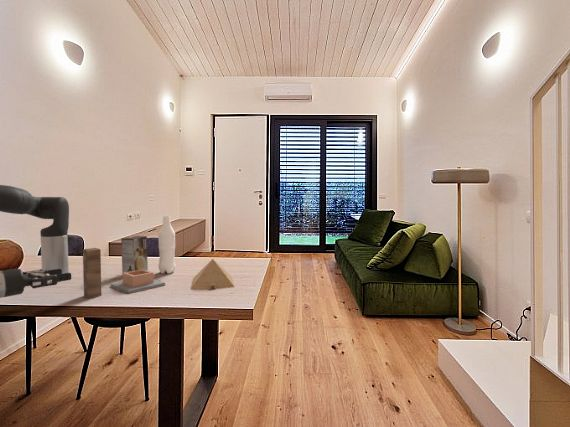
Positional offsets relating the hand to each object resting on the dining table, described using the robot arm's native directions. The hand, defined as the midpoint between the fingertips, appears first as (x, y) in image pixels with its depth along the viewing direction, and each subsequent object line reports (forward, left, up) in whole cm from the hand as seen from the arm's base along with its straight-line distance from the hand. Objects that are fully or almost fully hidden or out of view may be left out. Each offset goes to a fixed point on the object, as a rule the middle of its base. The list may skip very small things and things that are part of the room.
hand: (66, 273), depth 105 cm
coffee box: (-20, +33, -9) cm, 39 cm away
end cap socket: (0, +24, -9) cm, 25 cm away
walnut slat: (0, +8, -9) cm, 12 cm away
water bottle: (-11, +43, -9) cm, 45 cm away
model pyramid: (+18, +45, -10) cm, 49 cm away
